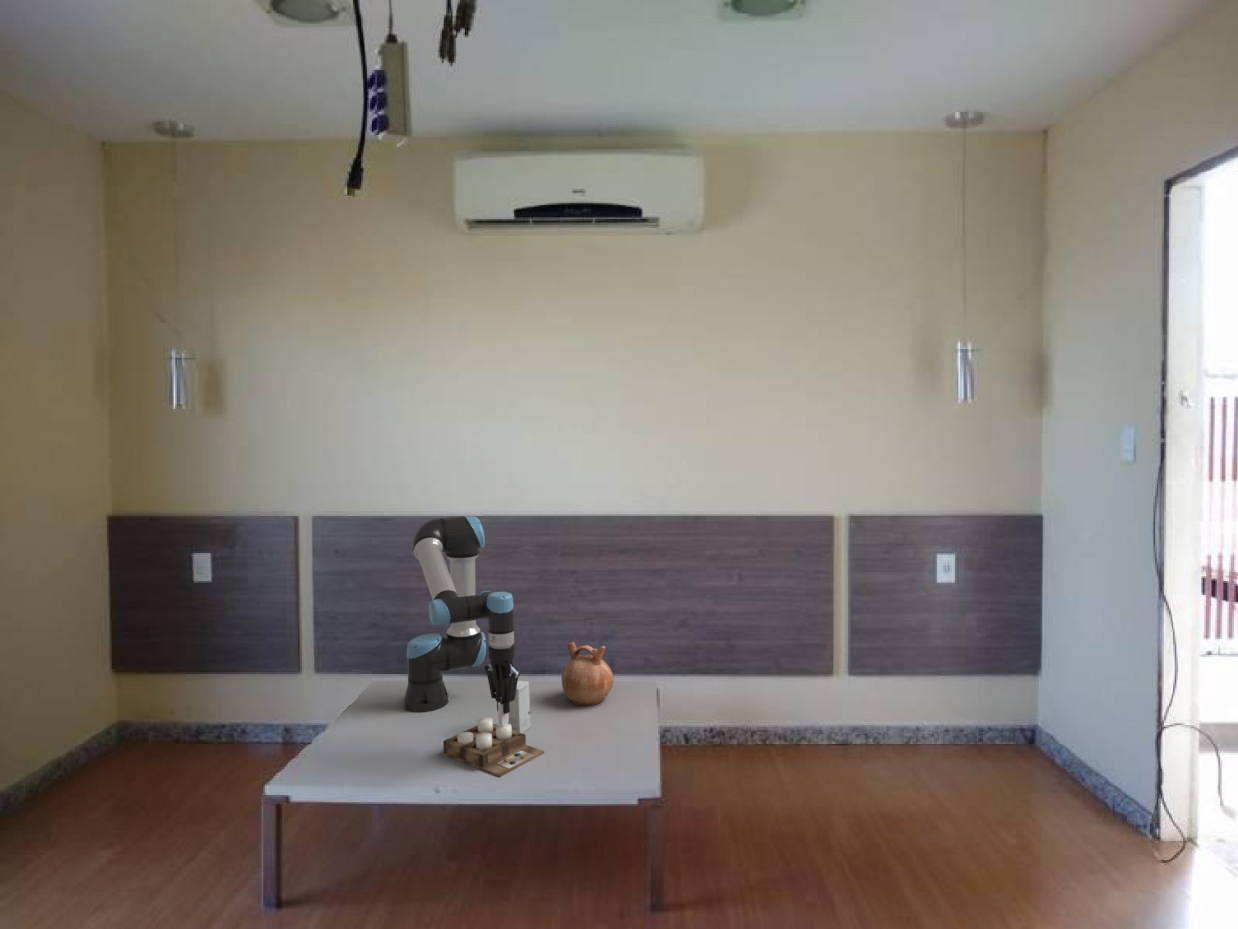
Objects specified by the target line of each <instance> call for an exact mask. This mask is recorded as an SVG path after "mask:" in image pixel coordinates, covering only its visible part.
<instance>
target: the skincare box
mask: <svg viewBox="0 0 1238 929" xmlns="http://www.w3.org/2000/svg"><path fill="white" fill-rule="evenodd" d="M530 705H531V701H530V682H529V681H527V680H526V681H525V680H518V682H517V688H516V694H515V700H513V701H511V702H510V703H509V706H510V712H509V722H508V724H511V726H512V730H513V731H516V732H519V733H522V734H524V733H525V732H526V731H527V730H528V729H529V728H531V707H530Z"/></svg>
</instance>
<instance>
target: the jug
mask: <svg viewBox="0 0 1238 929" xmlns="http://www.w3.org/2000/svg"><path fill="white" fill-rule="evenodd" d="M567 648H568V650H569V654H570V657H571V660H570V661H569V662H568V664H566V665H565V667H564V669H563V671H562V673H561V687H562V690H563V692H564V693H565V696H566V697H567V698H568V699H569V700H570V702H572V703H573V704H575V705H576V706H577V705H578V706H583V707H584V706H585V707H586V706H587V705H589V706H594V705H595V704H596V705H599V704H601V703H602V702H603V701H605V700H606V698H607V697H608V695H609V694H610V692H611V690H612V689H613V686H614V673H613V671H612V669H611V667H610V665H609V664H608V663H606V661H605V660H604V659H603V655H604V653H605V649H606V646H605V645H602V646H600V647H599V649H598V648H593V647H592V646H591V645H588V644H585V645H582V646H579V647H577V645H576V643H575V641H571V642H570V643H568V644H567ZM581 651H586V652H588V653H590V654H580V652H581ZM587 707H588V706H587Z"/></svg>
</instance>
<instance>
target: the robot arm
mask: <svg viewBox="0 0 1238 929" xmlns="http://www.w3.org/2000/svg"><path fill="white" fill-rule="evenodd" d="M485 538H486V537H485V532H484V528H483V526H482V522H481V521H480V519H479V518H478V517H477V516H474V515H471V516H470V515H468V516H467V515H462V516H460V515H459V516H451V517H442V518H438V517H437V518H432V519H429V520H427V521H425V522H424V523H423V524H422V525H420V527H419V528H418V529H417V530H416V531H415V533H414V535H413V539H412V547H411V548H412V551H413V556H414V558H415V559H416V560H418V562H419V563H420V568H421V570H422V572H423V575H424V578H425V581H426V585H427V588H428V590H429V593H430V597H431V601H429V603H428V617H429V620H430V623H431V624H432V625H434V626H447V625H450V627H449V628H448V629H447V630H446V636H444V637H442V635H441V634H440V633H437V632H434V633H425V634H420V635H418V636H416V637H414V638H412V639H411V640H410V641H408V643H407V647H406V658H407V662H406V663H407V686H406V690H405V693H404V694H405V695H404V697H403V708H404V709H406V710H408V711H410V712H419V713H420V712H422V713H423V712H430V711H434V710H439V709H442V708H443V707H446V706H447V705H448V703H449V693H448V690H447V688H446V686H445V683H444V680H443V679H444V678H443V674H444V672H451V671H456V670H461V669H471V668H473V667H477V666H480V665H482V664H483V663H484V660H485V658H486V654H487V643H486V635H485V634H484V632H483V631H481V628H480V626H478V625H477V621H481V620H487V629H488V630H487V633H488V634H487V636H488V658H489V660H490V661H489V664H486V665H484V671H485V672H486V677H487V681H488V685H489V687H488V688H489V692H490V697H491V699H495V701H496V710H497V714H498V716H497V718H498V725H499V724H500V725H504V724H506V723H508V722H509V712H510V706H509V703H510V702H511V701H513V700H515V694H516V688H517V682H518V681H519V677H520V675H521V671H520V670H516V669H515V664H514V662H513V661H514V658H515V656H516V655H515V646H514V645H515V634H514V633H515V629H514V626H515V625H514V624H515V623H514V620H515V619H514V599H513V598H514V597H513V594H512V593H510V592H507V591H494V592H493V591H491V590H483V591H481V592H480V593H478V594H476V559H477V558H478V557H479V555H480V550H482V549H484V548H485V544H486V540H485ZM443 553H444V554H445V557H446V558H447V560H449V568H448V566H447V563H446V559H445V558H444V555H443Z"/></svg>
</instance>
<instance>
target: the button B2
mask: <svg viewBox="0 0 1238 929" xmlns="http://www.w3.org/2000/svg"><path fill="white" fill-rule="evenodd" d="M496 725H497V726H496V739H498V740H500V741H503V742H504V741H506V740H508V739H510V738H512V726H511V724H508V723H506V724H504V725H500V724H499V723H498V724H496Z"/></svg>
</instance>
